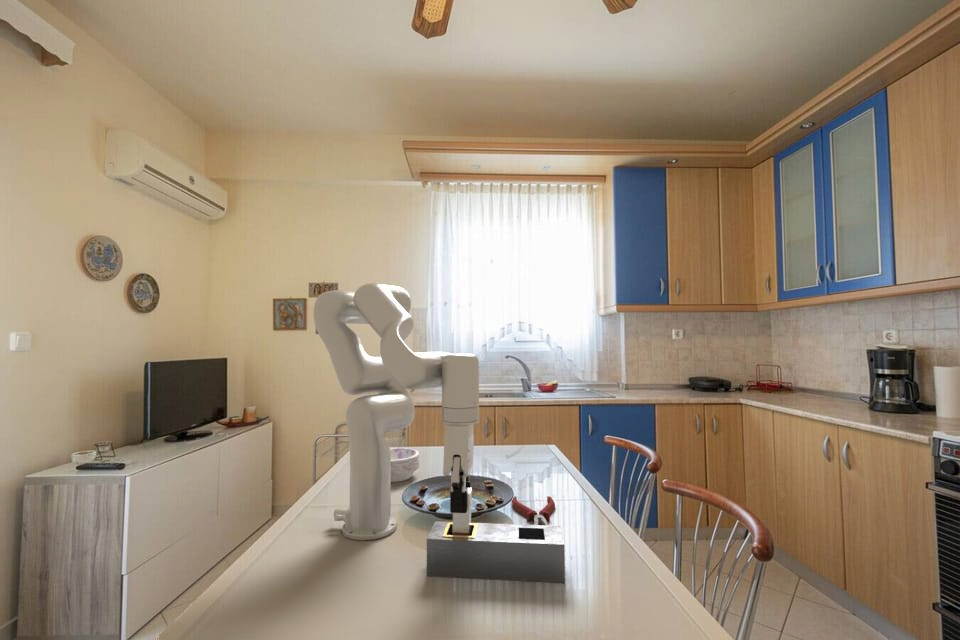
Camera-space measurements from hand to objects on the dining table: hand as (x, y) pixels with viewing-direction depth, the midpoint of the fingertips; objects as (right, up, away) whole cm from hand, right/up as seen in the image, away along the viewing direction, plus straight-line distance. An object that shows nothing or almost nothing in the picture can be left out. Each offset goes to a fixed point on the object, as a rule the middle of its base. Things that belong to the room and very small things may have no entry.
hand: (460, 505), depth 86 cm
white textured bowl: (-24, -15, +55) cm, 62 cm away
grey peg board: (+7, -12, -1) cm, 14 cm away
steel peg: (0, -10, 0) cm, 10 cm away
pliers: (+17, -14, +24) cm, 33 cm away
